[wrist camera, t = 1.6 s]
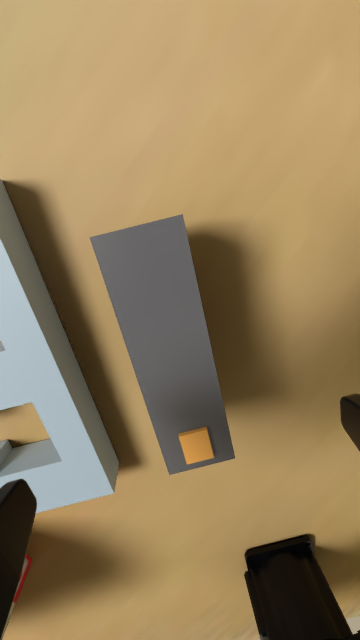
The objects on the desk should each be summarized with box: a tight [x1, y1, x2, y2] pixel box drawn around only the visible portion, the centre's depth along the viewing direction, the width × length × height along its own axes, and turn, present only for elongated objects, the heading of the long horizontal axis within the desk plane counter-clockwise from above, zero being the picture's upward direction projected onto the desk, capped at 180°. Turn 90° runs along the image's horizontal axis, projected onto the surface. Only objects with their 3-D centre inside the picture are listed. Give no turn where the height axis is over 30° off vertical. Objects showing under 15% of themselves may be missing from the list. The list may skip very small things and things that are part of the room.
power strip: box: [90, 214, 235, 475], centre depth 14 cm, size 12×4×6 cm, turn 13°
